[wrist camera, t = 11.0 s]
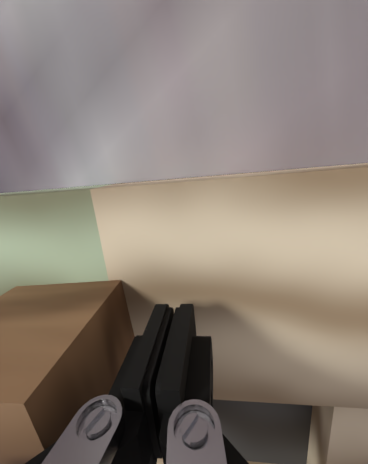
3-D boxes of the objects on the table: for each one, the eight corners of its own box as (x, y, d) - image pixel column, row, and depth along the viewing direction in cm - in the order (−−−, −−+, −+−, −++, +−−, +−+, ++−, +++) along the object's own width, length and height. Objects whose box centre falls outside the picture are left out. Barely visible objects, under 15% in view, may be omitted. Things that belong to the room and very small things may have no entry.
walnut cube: (15, 286, 12) (-162, 397, 6) (121, 279, 11) (23, 403, 5) (49, 373, 14) (-68, 523, 8) (143, 374, 13) (86, 546, 7)
